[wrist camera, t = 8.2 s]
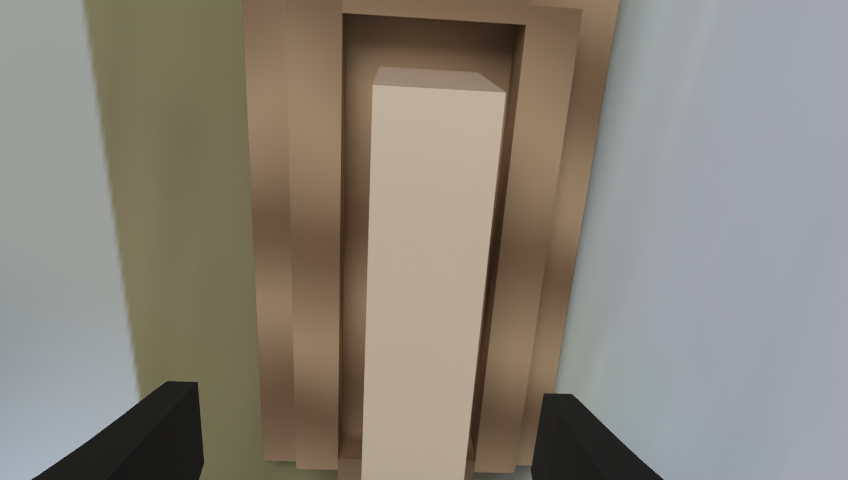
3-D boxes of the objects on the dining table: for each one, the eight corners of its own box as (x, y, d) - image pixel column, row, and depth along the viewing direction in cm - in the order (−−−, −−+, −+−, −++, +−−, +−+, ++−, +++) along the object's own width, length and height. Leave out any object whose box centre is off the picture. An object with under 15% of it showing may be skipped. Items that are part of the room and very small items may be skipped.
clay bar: (448, 400, 22) (461, 502, 17) (368, 398, 22) (360, 501, 17) (477, 72, 18) (505, 92, 13) (379, 66, 18) (372, 84, 13)
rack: (536, 448, 24) (550, 494, 22) (269, 443, 24) (254, 489, 21) (611, -23, 18) (643, -28, 16) (248, -48, 17) (225, -58, 15)
